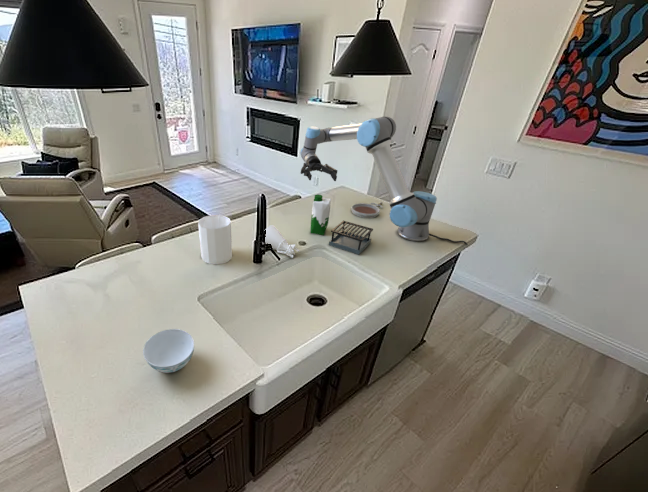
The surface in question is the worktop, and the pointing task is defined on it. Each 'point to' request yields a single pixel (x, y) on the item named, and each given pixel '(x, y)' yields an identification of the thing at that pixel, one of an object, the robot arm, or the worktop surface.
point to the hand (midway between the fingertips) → (323, 178)
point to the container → (215, 239)
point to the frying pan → (366, 210)
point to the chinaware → (169, 350)
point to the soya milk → (320, 214)
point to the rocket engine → (279, 241)
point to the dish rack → (350, 238)
